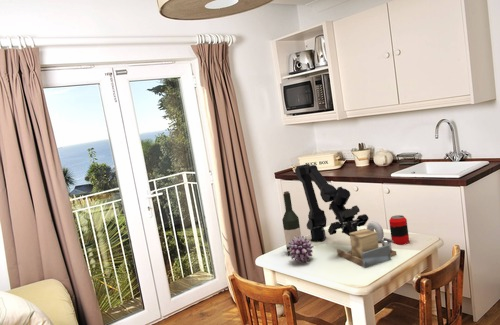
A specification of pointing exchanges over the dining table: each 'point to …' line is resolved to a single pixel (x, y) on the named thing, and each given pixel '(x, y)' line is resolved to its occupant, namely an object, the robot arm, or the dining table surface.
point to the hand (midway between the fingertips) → (358, 240)
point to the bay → (368, 256)
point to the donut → (376, 229)
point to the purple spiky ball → (300, 248)
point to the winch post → (388, 242)
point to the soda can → (399, 230)
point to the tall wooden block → (363, 241)
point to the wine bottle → (290, 222)
